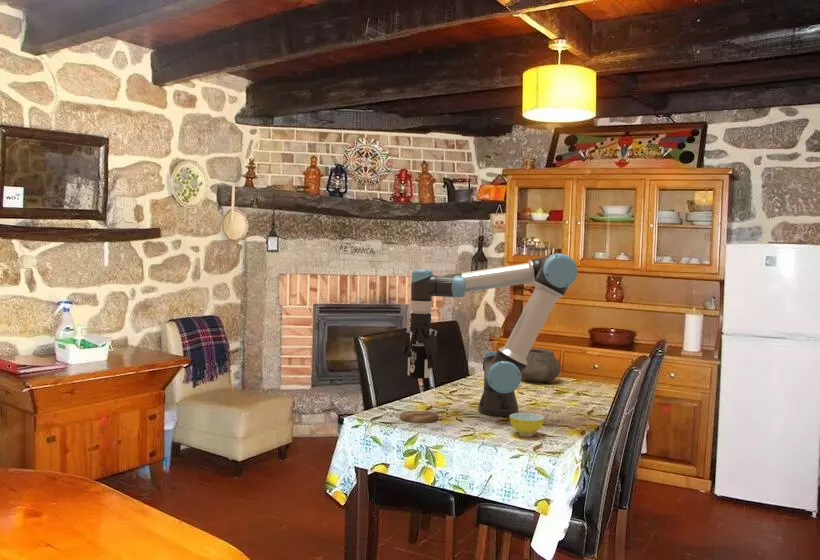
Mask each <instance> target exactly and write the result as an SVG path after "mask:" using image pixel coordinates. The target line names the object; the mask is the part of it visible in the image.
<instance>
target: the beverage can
mask: <svg viewBox="0 0 820 560" xmlns="http://www.w3.org/2000/svg"><path fill="white" fill-rule="evenodd" d="M426 358H427V357H426V353H425V349H424V345H423V342H422V343H421V342H417V343H416V344H412V347H411V352H410V375H409V376H410V377H411V379H417V380H418V379H419V380H422V379H425V378H424V374H425V359H426Z"/></svg>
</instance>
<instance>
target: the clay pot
mask: <svg viewBox="0 0 820 560" xmlns="http://www.w3.org/2000/svg"><path fill="white" fill-rule="evenodd" d="M526 361H527V366H526V368H525V370H524V372H523V374H522V375H521V379H522V378H523V379H524V380H526V381H528V382H533V383H546V382H550V381H553V380H555V379H556V378H557V377H558V376H559V375H560V373H561V370H562V367H561V363H560V362H559V360H558V359H557V358H556V357H555V353H554V351H553V350H550V349H546V348H538V347H537V348H531V349H530V351H529V353H528V355H527V357H526Z"/></svg>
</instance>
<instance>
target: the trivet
mask: <svg viewBox="0 0 820 560" xmlns="http://www.w3.org/2000/svg"><path fill="white" fill-rule="evenodd" d="M439 418H440V417H439V414H438V413H435V412H432V411H427V410H408V411H403V412H401V413H400V414H399V419H400V420H401V421H403V422H406V423H410V424H413V423H414V424H430V423H436V422H437V421H439Z"/></svg>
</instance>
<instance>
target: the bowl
mask: <svg viewBox="0 0 820 560" xmlns="http://www.w3.org/2000/svg"><path fill="white" fill-rule="evenodd" d="M544 421H545V417H544V415H542V414H539V413H538V414H537V413H533V412H519V413H514V414H511V415H510V416H509V422H510V424H511V426H512V428H513V429H514V430H515V431H517V432H518V433H519V435H520V436H521V437H532V436H534V433H536V432H538V431H539V430H540V429H541V428H542V427H543V424H544Z"/></svg>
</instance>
